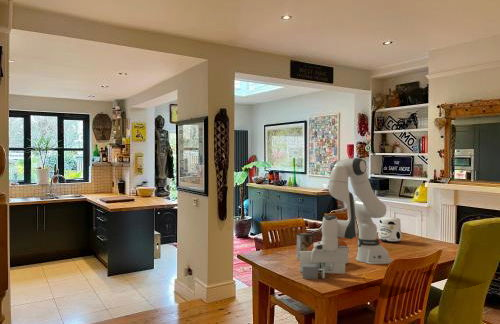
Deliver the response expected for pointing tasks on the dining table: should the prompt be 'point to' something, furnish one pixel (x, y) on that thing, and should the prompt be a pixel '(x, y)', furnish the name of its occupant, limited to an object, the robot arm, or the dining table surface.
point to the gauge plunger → (321, 270)
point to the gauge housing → (316, 266)
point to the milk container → (390, 229)
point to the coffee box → (303, 242)
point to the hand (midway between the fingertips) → (329, 270)
